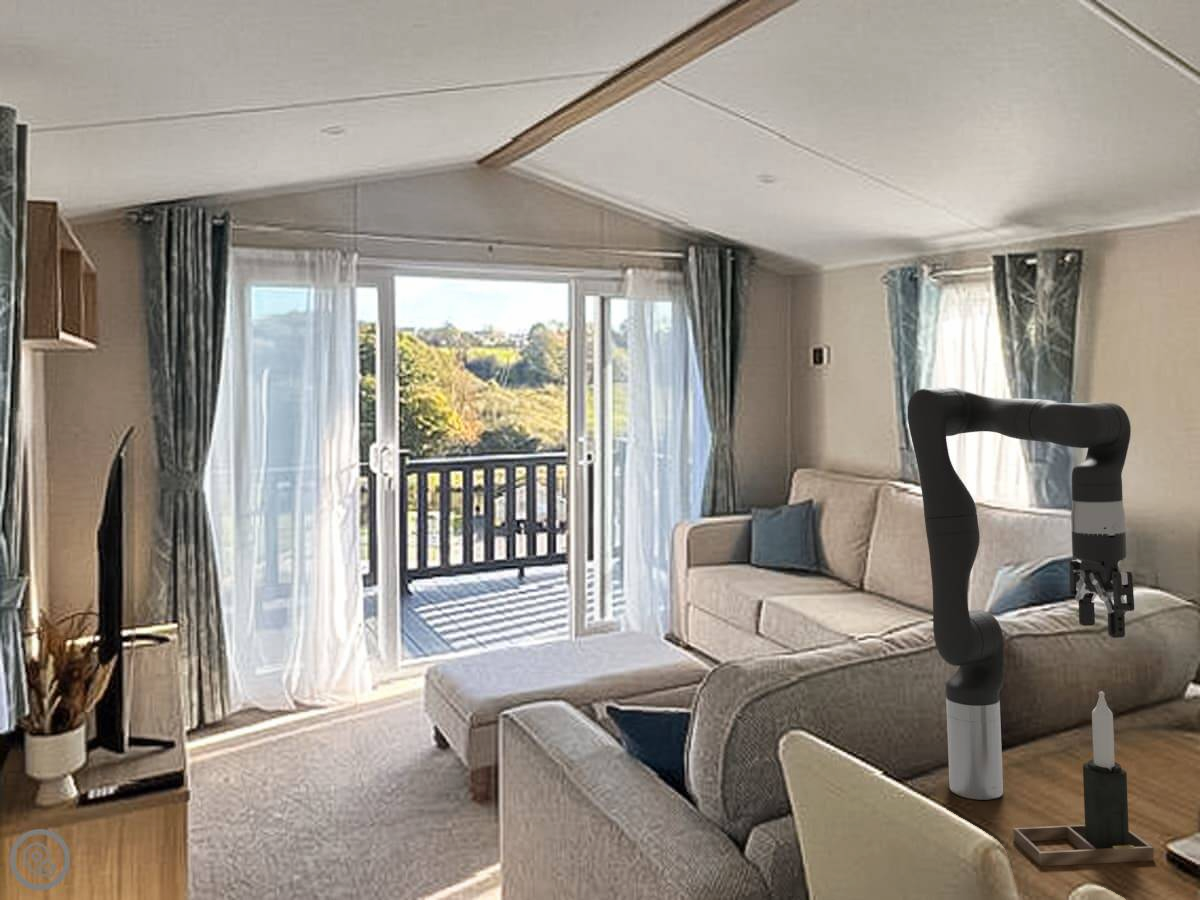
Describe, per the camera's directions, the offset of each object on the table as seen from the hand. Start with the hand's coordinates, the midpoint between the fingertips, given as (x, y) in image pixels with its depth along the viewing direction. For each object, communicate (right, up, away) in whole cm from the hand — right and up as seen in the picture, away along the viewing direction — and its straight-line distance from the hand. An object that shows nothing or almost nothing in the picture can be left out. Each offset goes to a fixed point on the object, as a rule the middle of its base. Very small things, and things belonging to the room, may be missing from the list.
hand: (1101, 631), depth 146 cm
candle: (+1, -35, 0) cm, 35 cm away
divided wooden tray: (-3, -35, 0) cm, 35 cm away
